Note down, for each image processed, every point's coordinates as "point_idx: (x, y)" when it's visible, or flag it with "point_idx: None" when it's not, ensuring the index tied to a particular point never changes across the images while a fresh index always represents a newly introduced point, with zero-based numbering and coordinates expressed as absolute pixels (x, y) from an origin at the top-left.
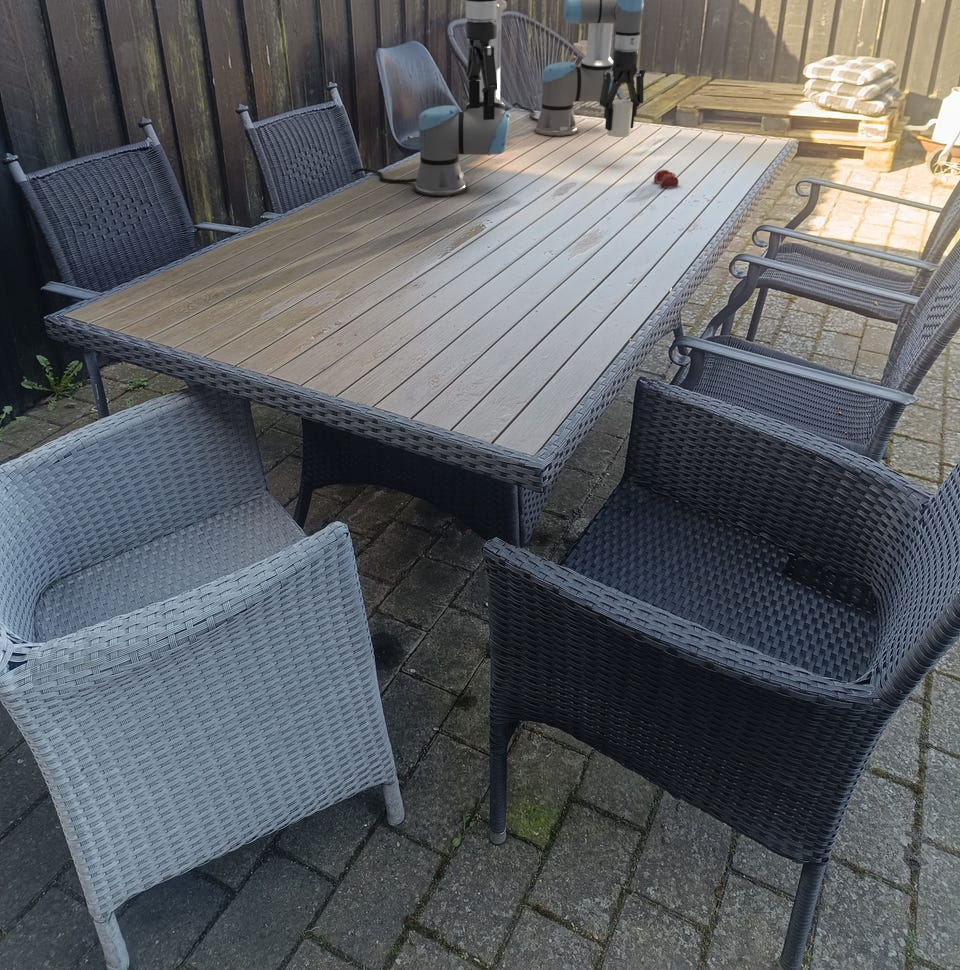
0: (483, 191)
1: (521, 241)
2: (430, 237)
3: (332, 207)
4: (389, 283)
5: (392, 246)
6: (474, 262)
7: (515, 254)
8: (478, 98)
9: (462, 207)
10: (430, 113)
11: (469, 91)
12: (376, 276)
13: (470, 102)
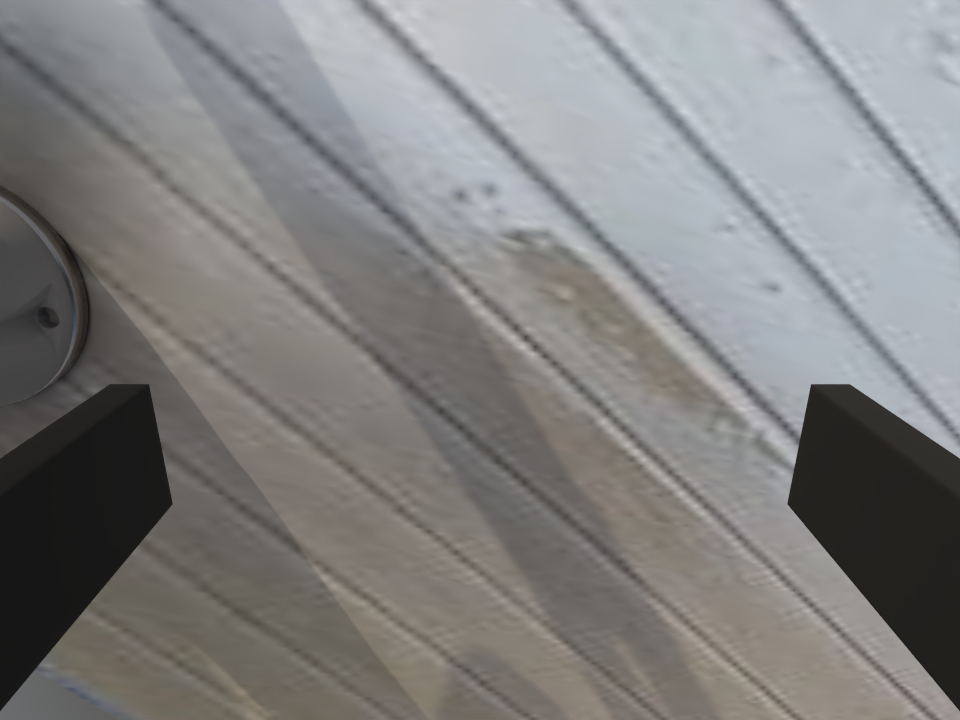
0: (5, 85)
1: (766, 131)
2: (585, 460)
3: (184, 687)
4: None
5: (627, 585)
6: (890, 378)
7: (893, 207)
8: (77, 458)
9: (253, 258)
10: None
11: (24, 662)
12: (850, 659)
13: (132, 540)
